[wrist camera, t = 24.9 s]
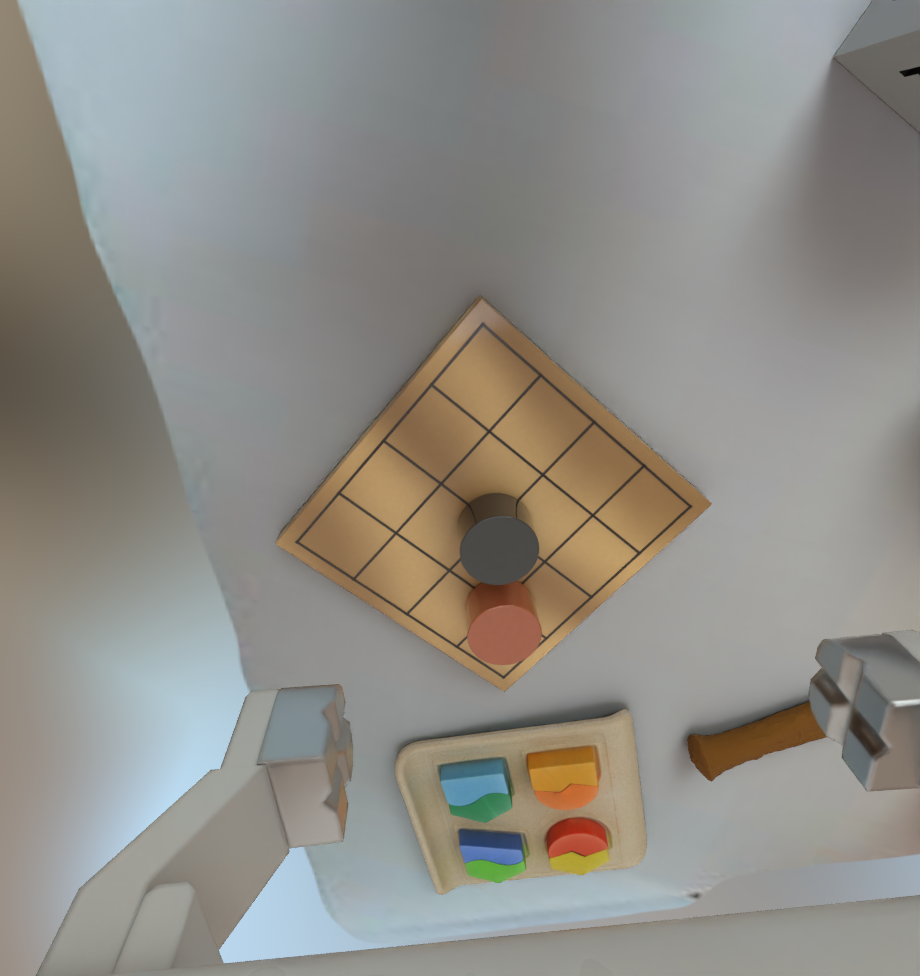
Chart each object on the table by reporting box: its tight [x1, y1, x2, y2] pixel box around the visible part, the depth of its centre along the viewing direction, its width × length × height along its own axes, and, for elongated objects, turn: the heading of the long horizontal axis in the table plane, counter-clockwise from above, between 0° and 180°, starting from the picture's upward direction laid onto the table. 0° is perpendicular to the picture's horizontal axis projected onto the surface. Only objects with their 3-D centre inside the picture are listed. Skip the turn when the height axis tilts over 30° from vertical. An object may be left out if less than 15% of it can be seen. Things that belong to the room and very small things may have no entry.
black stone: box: [457, 493, 539, 585], centre depth 40 cm, size 5×5×3 cm
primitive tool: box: [688, 701, 827, 781], centre depth 50 cm, size 19×6×4 cm, turn 110°
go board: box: [276, 296, 711, 692], centre depth 42 cm, size 20×20×1 cm
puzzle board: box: [395, 709, 647, 895], centre depth 52 cm, size 18×19×3 cm
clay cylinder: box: [465, 581, 542, 665], centre depth 43 cm, size 5×5×3 cm
